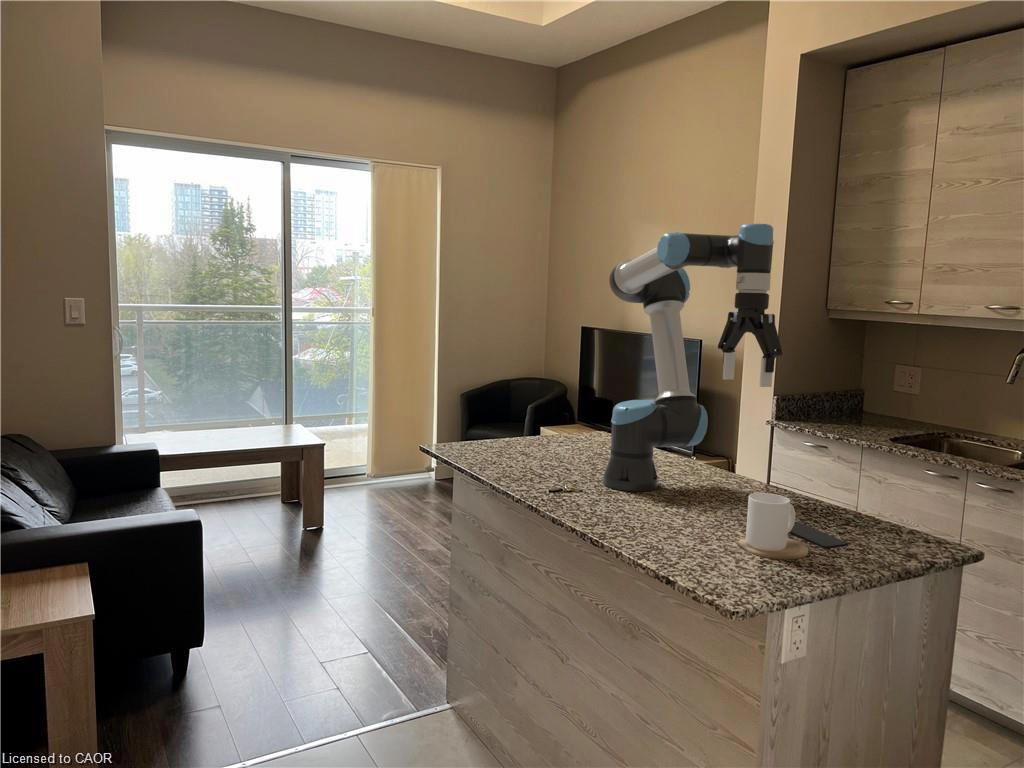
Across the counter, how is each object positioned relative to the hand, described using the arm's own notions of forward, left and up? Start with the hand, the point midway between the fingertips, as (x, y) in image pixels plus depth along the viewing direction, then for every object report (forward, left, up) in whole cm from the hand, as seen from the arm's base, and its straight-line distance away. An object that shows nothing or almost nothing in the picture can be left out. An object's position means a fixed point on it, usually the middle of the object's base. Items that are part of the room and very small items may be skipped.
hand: (746, 383), depth 174 cm
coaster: (+20, -6, -33) cm, 39 cm away
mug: (+20, -6, -32) cm, 38 cm away
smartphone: (+16, +8, -33) cm, 38 cm away
